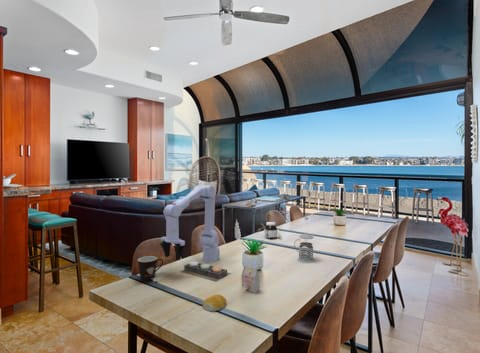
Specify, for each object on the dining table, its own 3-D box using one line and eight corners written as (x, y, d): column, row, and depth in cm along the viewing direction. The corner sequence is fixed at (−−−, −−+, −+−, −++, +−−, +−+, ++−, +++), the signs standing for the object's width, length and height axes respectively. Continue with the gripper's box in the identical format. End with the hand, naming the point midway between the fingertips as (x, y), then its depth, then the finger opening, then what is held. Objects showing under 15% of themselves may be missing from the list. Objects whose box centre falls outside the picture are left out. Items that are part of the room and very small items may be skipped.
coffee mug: (137, 284, 132) (137, 262, 132) (138, 277, 141) (138, 257, 140) (163, 281, 136) (163, 260, 135) (163, 275, 144) (163, 255, 143)
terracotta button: (216, 269, 142) (216, 265, 142) (223, 271, 139) (223, 267, 139) (210, 272, 138) (210, 268, 138) (218, 274, 136) (218, 270, 136)
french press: (315, 263, 160) (315, 218, 159) (294, 262, 162) (294, 218, 161) (314, 258, 169) (314, 215, 169) (294, 257, 172) (294, 215, 171)
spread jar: (263, 237, 221) (263, 222, 220) (275, 235, 226) (275, 220, 225) (271, 240, 210) (271, 224, 210) (284, 239, 215) (284, 223, 214)
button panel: (196, 267, 154) (195, 260, 154) (231, 276, 142) (231, 268, 141) (179, 274, 144) (179, 266, 144) (216, 284, 132) (216, 276, 131)
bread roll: (230, 304, 113) (230, 294, 113) (215, 314, 106) (215, 303, 106) (214, 299, 118) (214, 289, 118) (198, 307, 111) (198, 297, 111)
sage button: (204, 267, 146) (204, 263, 146) (211, 268, 143) (211, 264, 143) (198, 269, 142) (198, 265, 142) (205, 271, 140) (205, 267, 140)
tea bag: (247, 286, 130) (247, 264, 129) (259, 290, 125) (259, 267, 125) (242, 289, 127) (242, 266, 126) (254, 293, 123) (254, 270, 122)
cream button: (193, 264, 150) (193, 260, 150) (200, 265, 148) (200, 262, 147) (187, 266, 146) (187, 262, 146) (194, 268, 144) (194, 264, 144)
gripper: (155, 229, 139) (156, 257, 139) (176, 233, 130) (177, 263, 131) (167, 227, 145) (167, 253, 145) (188, 230, 136) (188, 259, 137)
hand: (172, 258), depth 138 cm, fingers open, 7 cm apart
